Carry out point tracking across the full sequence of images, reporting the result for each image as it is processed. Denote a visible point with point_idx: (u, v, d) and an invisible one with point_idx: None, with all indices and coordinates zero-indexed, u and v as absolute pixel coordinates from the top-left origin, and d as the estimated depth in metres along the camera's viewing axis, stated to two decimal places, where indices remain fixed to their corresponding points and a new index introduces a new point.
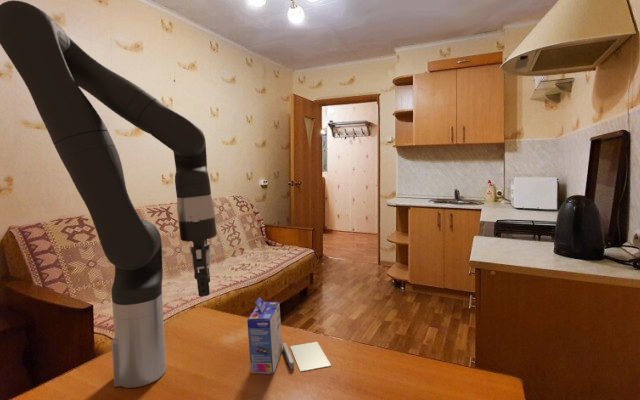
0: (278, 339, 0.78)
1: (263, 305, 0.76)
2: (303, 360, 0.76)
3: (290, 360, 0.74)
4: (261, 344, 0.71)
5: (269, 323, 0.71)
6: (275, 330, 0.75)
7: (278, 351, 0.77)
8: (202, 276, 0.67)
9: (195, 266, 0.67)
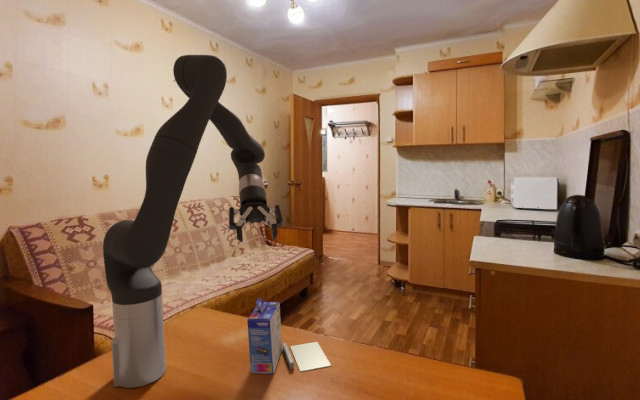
0: (278, 339, 0.78)
1: (263, 305, 0.76)
2: (303, 360, 0.76)
3: (290, 360, 0.74)
4: (261, 344, 0.71)
5: (269, 323, 0.71)
6: (275, 330, 0.75)
7: (278, 351, 0.77)
8: (281, 223, 0.93)
9: None
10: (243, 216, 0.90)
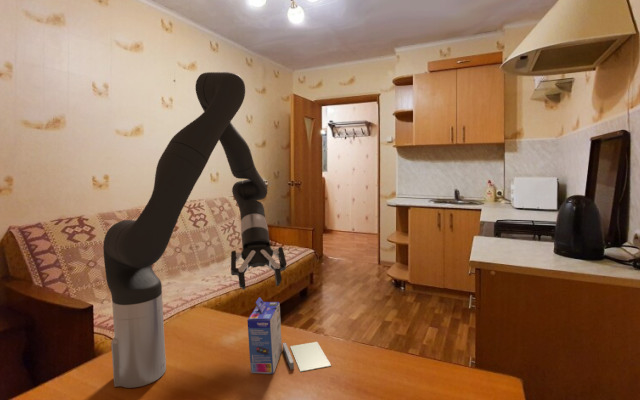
0: (278, 339, 0.78)
1: (263, 305, 0.76)
2: (303, 360, 0.76)
3: (290, 360, 0.74)
4: (261, 344, 0.71)
5: (269, 323, 0.71)
6: (275, 330, 0.75)
7: (278, 351, 0.77)
8: (285, 266, 0.90)
9: None
10: (246, 261, 0.86)
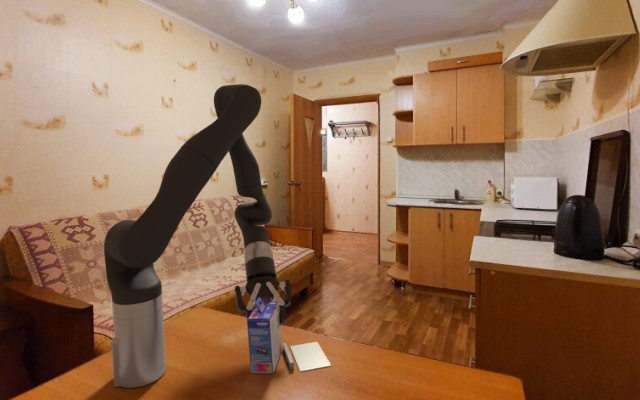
0: (278, 339, 0.77)
1: (263, 305, 0.76)
2: (303, 360, 0.76)
3: (290, 360, 0.74)
4: (261, 344, 0.71)
5: (269, 323, 0.71)
6: (275, 330, 0.75)
7: (278, 351, 0.77)
8: (290, 302, 0.83)
9: (290, 292, 0.84)
10: (252, 297, 0.80)
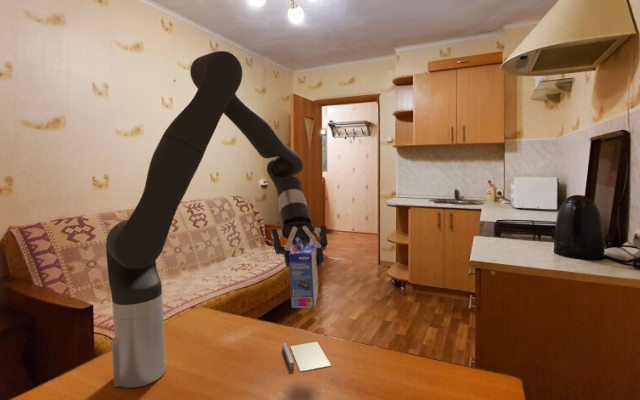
0: (316, 279, 0.78)
1: (302, 244, 0.77)
2: (303, 360, 0.76)
3: (290, 360, 0.74)
4: (302, 278, 0.72)
5: (311, 257, 0.71)
6: (314, 268, 0.75)
7: (316, 290, 0.78)
8: None
9: None
10: (290, 238, 0.81)
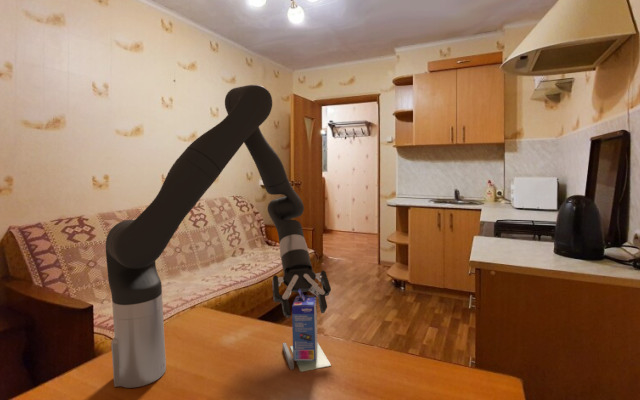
0: (316, 331, 0.80)
1: (303, 296, 0.80)
2: None
3: (290, 360, 0.74)
4: (304, 330, 0.74)
5: (313, 309, 0.74)
6: None
7: (316, 343, 0.79)
8: None
9: None
10: (289, 287, 0.82)
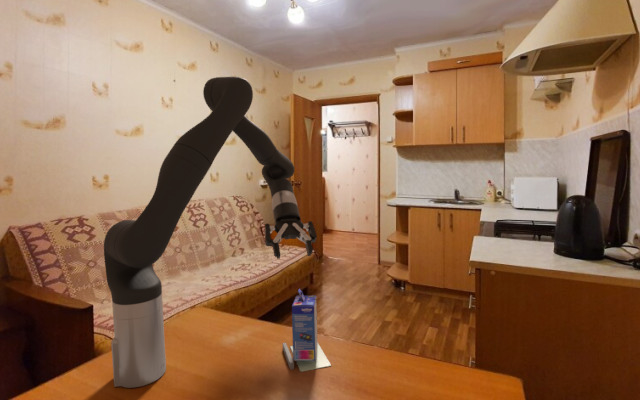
0: (316, 331, 0.80)
1: (303, 296, 0.80)
2: None
3: (290, 360, 0.74)
4: (304, 330, 0.74)
5: (313, 309, 0.74)
6: None
7: (316, 343, 0.79)
8: None
9: None
10: (279, 233, 0.92)
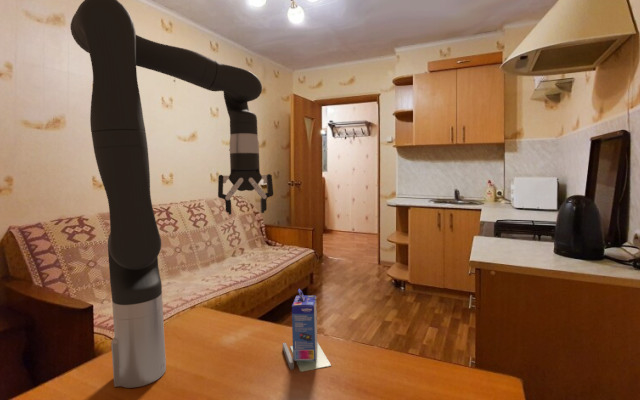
0: (316, 331, 0.80)
1: (303, 296, 0.80)
2: None
3: (290, 360, 0.74)
4: (304, 330, 0.74)
5: (313, 309, 0.74)
6: (315, 319, 0.78)
7: (316, 342, 0.79)
8: None
9: None
10: (233, 189, 0.86)
